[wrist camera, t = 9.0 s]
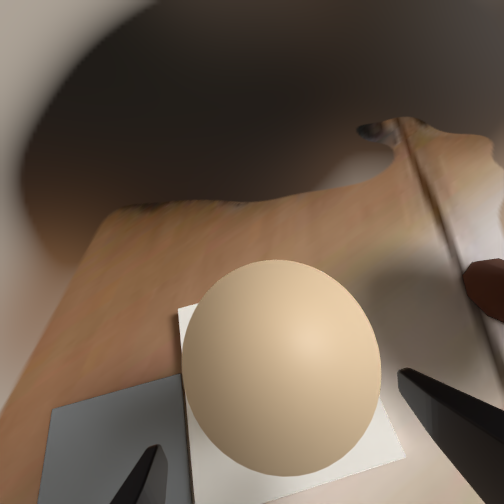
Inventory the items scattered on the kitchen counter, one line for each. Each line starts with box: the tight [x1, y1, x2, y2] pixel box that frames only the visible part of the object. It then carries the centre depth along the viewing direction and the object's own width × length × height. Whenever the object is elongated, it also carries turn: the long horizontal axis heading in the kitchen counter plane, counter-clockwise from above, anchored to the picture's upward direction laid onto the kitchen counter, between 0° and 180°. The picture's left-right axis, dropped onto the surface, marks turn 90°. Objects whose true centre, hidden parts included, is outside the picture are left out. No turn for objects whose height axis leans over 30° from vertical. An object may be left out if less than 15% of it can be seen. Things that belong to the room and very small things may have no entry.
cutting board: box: [178, 271, 406, 504], centre depth 16 cm, size 12×12×1 cm
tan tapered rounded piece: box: [182, 260, 381, 477], centre depth 10 cm, size 4×4×12 cm
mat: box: [37, 374, 192, 504], centre depth 14 cm, size 9×9×1 cm
